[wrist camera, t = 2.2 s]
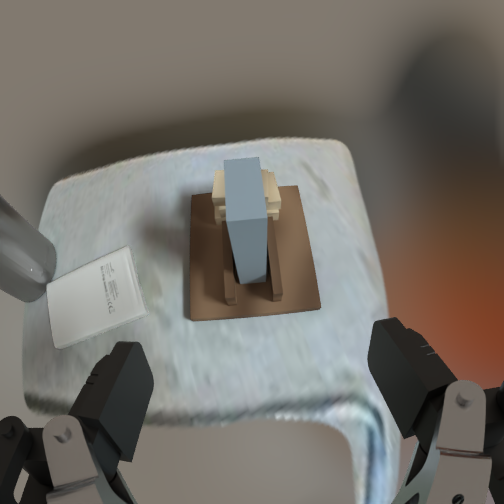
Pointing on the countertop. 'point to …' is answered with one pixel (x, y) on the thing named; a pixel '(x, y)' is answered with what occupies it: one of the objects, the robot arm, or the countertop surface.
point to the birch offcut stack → (269, 192)
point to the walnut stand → (277, 265)
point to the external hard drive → (95, 299)
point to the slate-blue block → (246, 218)
